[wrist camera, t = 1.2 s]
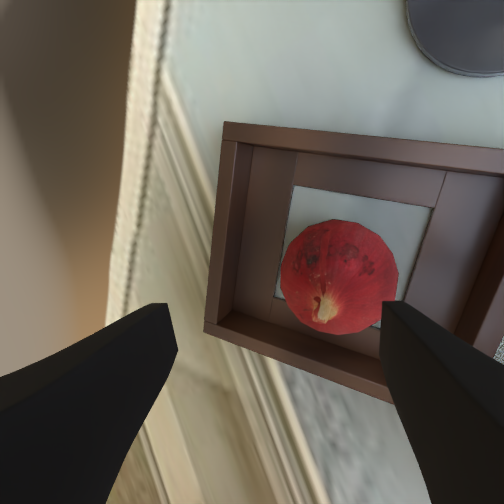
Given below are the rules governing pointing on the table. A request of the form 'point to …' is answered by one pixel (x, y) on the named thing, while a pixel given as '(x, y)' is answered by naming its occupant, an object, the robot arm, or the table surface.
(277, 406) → the table surface
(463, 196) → the tray
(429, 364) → the robot arm
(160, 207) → the table surface
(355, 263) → the onion
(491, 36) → the coaster
